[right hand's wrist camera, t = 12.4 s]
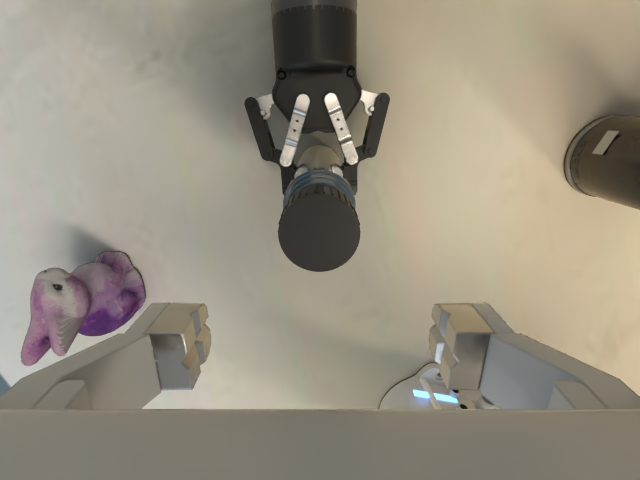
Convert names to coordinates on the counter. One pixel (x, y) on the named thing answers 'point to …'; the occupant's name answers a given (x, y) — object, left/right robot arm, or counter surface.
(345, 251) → the cap
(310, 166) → the bottle
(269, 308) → the counter surface
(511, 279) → the counter surface
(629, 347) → the counter surface
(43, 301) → the figurine
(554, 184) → the counter surface
